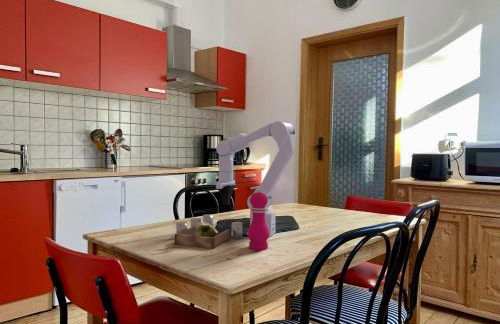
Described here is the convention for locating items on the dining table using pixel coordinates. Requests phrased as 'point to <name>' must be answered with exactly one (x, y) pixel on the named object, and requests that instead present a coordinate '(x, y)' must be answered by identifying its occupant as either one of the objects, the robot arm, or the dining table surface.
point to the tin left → (237, 230)
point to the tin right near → (195, 221)
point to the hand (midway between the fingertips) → (225, 204)
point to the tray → (200, 239)
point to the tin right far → (181, 226)
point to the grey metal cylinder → (208, 219)
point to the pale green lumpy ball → (205, 230)
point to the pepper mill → (258, 222)
